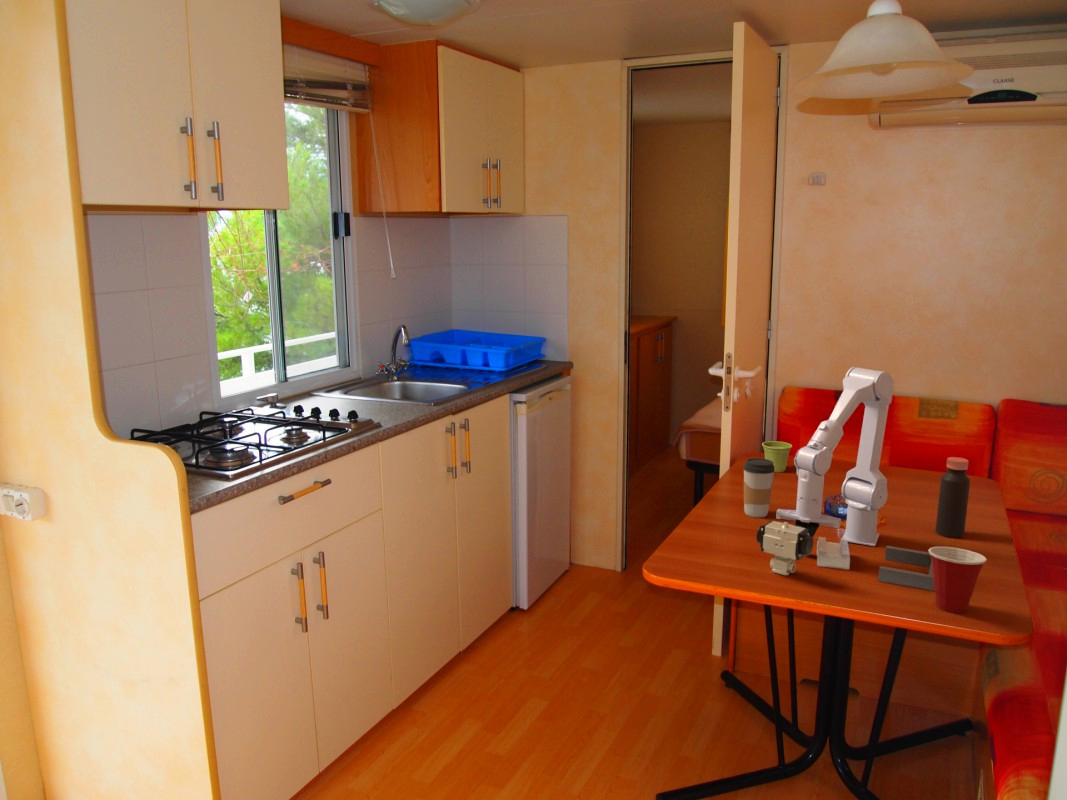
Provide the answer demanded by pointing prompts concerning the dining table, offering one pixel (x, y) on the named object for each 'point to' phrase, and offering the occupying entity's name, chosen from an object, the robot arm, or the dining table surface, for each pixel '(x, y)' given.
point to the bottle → (953, 499)
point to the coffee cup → (757, 486)
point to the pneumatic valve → (784, 545)
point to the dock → (907, 576)
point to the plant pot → (777, 454)
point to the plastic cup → (954, 576)
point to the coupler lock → (833, 554)
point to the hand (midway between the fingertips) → (805, 551)
